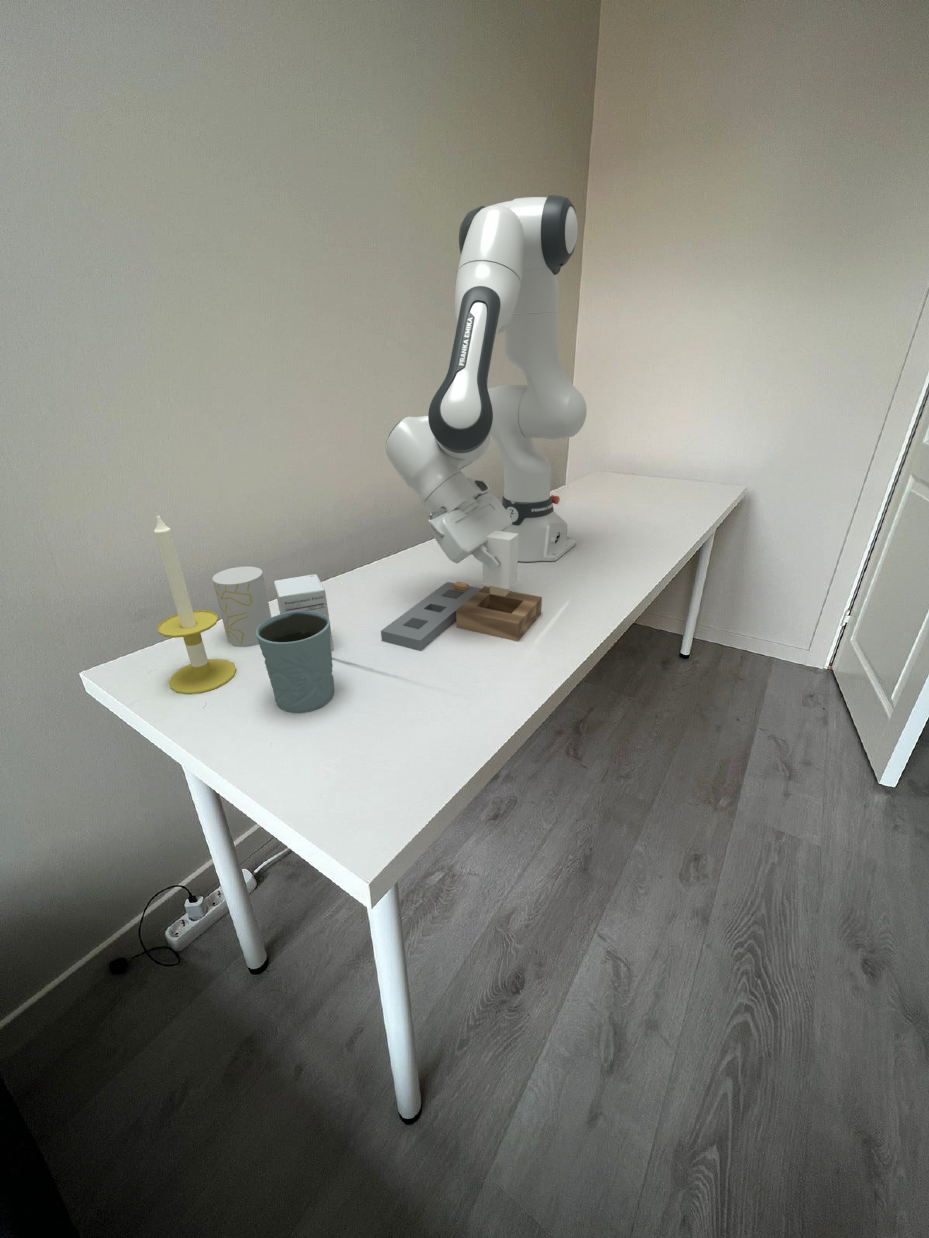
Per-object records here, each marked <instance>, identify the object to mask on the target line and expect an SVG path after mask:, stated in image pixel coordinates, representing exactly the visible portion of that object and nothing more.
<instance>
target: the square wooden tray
mask: <svg viewBox="0 0 929 1238" xmlns="http://www.w3.org/2000/svg"><path fill="white" fill-rule="evenodd" d="M481 588H482V589H481V590H479V591H478V592H477V593H476V594H475V595H473V596H472V597H471V598H470V599H469V600H468V601H466V602H465V603H464V604H463V605H462V606H461V607H459V608H458V609H457V610H456V621H455V623H456V629H461V630H465V631H469V632H475V633H480V634H483V635H487V636H491V637H496V638H500V639H504V640H507V641H513V642H517V643H518V642H519V641H520V639H521V638H522V637H523V636H524V635H525V633H526V632H527V631H528V630H529V629H530V627H531V626H532V625H534V623H535V622H536V620H537V619H538V618H539V617H540V616H541V615H542V604H543V603H542V602H543V596H538V595H533V594H527V593H522V592H518V591H517V592H516V591H512V590H509V593H508V594H507V595H506V596H505V597H504V596H499V595H494V594H490V586H488V585H483V587H481Z"/></svg>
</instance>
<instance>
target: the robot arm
mask: <svg viewBox="0 0 929 1238" xmlns="http://www.w3.org/2000/svg"><path fill="white" fill-rule="evenodd" d="M576 212H577V211H576V208H575V206H574V204H573V203H572V201H571V199H570V198H569V197H566V196H562V195H556V194H550V195H548V196H546V197H545V196H531V197H528V196H527V197H516V198H514V199H512V200H507V201H503V202H498V203H495V204H491V205H489V206H485V205H482V206H481V205H480V206H479V207H476V208H474V209H472V210H471V211H469V212H468V213H466V215H465V216H464V218H463V220H462V222H461V224H460V227H459V231H458V247H459V253H460V259H459V263H458V268H457V274H456V282H455V288H454V289H455V290H454V316H455V320H456V328H455V334H454V339H453V345H452V351H451V354H450V359H449V364H448V365H449V367H448V370H447V373H446V376H445V378H444V379H443V381H442V383H441V385H440V387H439V388H438V389H437V391H436V392H435V394H434V395H433V398H432V400H431V402H430V404H429V408H428V414H427V415H423V416H406V417H403V419H401V420H399V421H398V422H397V424H395V426H394V427H393V428H392V430H391V431H390V432H389V434H388V437H387V439H386V441H385V452H386V455H387V458H388V460H389V462H390V463H391V465H392V466H393V468H394V469H395V471H396V472H397V473H398V475H399V476H400V478H401V479H402V480H403V481H404V482H405V484H406V485H407V486H408V488H410V489H412V490H413V491H414V492H416V494H417V495H418V496H419V498H420V500H421V502H422V503H421V504H423V506H424V507H425V508H426V509H427V511H428V512H429V514H428V515H427V518H428V519H427V520H428V523H427V524H428V527H430V529H431V532H432V536H433V537H434V539H435V541H436V543H437V544H438V545H439V547H440V548H441V550H442V551H443V553H444V555H446V557H447V558H448V559H449V561H451V562H453V563H455V564H459V563H460V562H462V561H463V560H465V559H466V558H468V557H470V556H471V555H472V556H473V557H474V558H475V560H477V561H478V562H481V563H482V564H483V563H484V564H486V565H487V566H488V568H489V569H490V570H491V571H494V570H495V569H496V568H498V567H499V566H500V565H501V562H500V561H499V560H498V558H497V557H496V556H495V557H493V556H492V555H491V554H489V553H488V552H487V551H486V550H487V549H486V547H485V546H484V545H483V544H484V543H485V542H487V540H488V539H487V537H486V536H488V535H489V534H491V533H493V532H494V531H503V532H510V533H517V534H519V540H518V562H524V563H525V562H526V563H527V562H541V561H543V562H555V561H557V560H559V559H560V558H561V557H562V556H564V555H565V554H566V553H567V552H569V551H570V550H571V549H572V548H573V547H574V546H576V545H577V543H576V540H575V539H573V538H572V537H570V536H568V524H567V521H565V520H564V519H563V518H562V517H561V516H560V515H559V514H557V513H556V512H555V511H554V504H555V505H559V503H560V499H561V498H560V496H559V495H553V494H552V495H551V484H552V483H551V482H552V466H551V462H550V461H549V460H548V458H547V457H546V456H544V455H543V454H541V453H540V452H539V451H538V450H537V448H536V446H535V445H534V441H533V438H535V439H548V440H558V439H559V440H560V439H567V438H572V437H575V436H576V435H577V434H578V433H579V432H580V431H581V430H582V428H583V426H584V424H585V422H586V417H587V403H586V399H585V398H584V396H583V394H582V393H581V392H580V391H579V390H578V389H577V388H576V387H575V386H574V385H573V384H572V382H571V381H570V380H569V378H568V376H567V374H566V373H565V370H564V367H563V364H562V361H561V357H560V351H559V306H560V305H559V304H560V303H559V281H558V274H559V273H560V271H561V269H562V267H564V266H565V265H566V264H567V263H568V262H569V260H570V258H571V257H572V256H573V253H574V252H575V248H576V243H577V239H578V230H579V229H578V228H579V227H578V226H579V224H578V219H577V213H576ZM503 332H504V336H505V337H504V342H505V343H504V345H505V346H504V349H505V354H506V356H507V359H508V360H509V361H510V362H511V363H512V364H514V366H516V367H518V368H519V369H520V370H521V371H522V373H523V374H524V376H525V379H526V383H527V384H502V385H497V386H494V387H489V388H488V381H489V374H490V368H491V362H492V357H493V351H494V345H495V341H496V338H497V335H500V334H501V333H503ZM491 438H492V439H493V440H494V442H495V443H496V446H497V448H498V450H499V453H500V457H501V460H502V466H503V480H504V481H503V483H504V485H503V492H504V493H503V496H502V497H501V498H502V499H501V500H502V501H501V502H500V500H499V498H498V497H496V495H495V494H493V493H492V492H489V491H490V490H491V487H490V485H489V484H488V483H487V482H486V481H485V480H481V479H475V478H471V477H467V476H466V475H465V473H464V472H462V469H464V468H465V467H467V466H470V465H472V464H473V463H474V462H476V461H478V460H479V459H480V458H481V457H482V456H484V454H485V453H486V452H487V450H488V448H489V446H490V441H491Z"/></svg>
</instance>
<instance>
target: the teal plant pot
mask: <svg viewBox="0 0 929 1238" xmlns="http://www.w3.org/2000/svg"><path fill="white" fill-rule="evenodd" d="M330 627H331V620H330V617H329V618H328V617H327V616H325V615H324V614H322V613H318V612H314V611H294V612H288V613H283V614H280V613H279V614H277V615H274V616H271V618H270V619H268V620H266V621H264V622H263V623H261V624H260V625H259V626H258V628H257V630H256V636H257V639H258V642H259V644H258V645H259V647H260V648H259V649H260V650H261V655H262V657H263V658H264V664H265V669H266V671H267V675H268V678H269V681H270V685H271V688H272V692H273V696H274V699H275V702H276V705H277V706H278V707H279V708H280V709H282V710H283V711H284V712H288V713H293V714H303V713H309V712H314V711H315V710H319V709H320V708H322V707H324V706H326V705H327V704H328V703H329V702H330V701H331V700H332V698H333V697H334V695H335V682H334V681H335V680H334V675H333V667H334V666H333V654H332V651H331V643H330V637H331V635H332V632H331V633H330Z"/></svg>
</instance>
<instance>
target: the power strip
mask: <svg viewBox="0 0 929 1238" xmlns="http://www.w3.org/2000/svg"><path fill="white" fill-rule="evenodd" d="M482 588H483V587H476V586H471V585H470V584H469V583H465V582H461V581H456V582H449V581H446V582H445V583H443V584H442V585H440V586H439V587H437V589H435V590H434V591H433V592H431V593H430V594H429V595H427V596H426V597H424V598H423V599H422V600H420V601H419V602H418V603H416V604H415V605H413V606H412V607H411V608H409V609H408V610H406V612H404V613H403V614H402V615H400V616H399V617H397V618H396V619H395V620H393V621H392V622H391V623H389V624H388V625H386V626H385V627H384V628H383V629H381V630H380V635H381V636H380V638H381V642H384V643H387V644H392V645H396V646H400V647H403V648H408V649H412V650H415V651H419V652H421V651H423V650H424V649H425V648H426V647H427V646H429V645H430V644H431V643H432V642H433V641H434V640H435V639H437V637H438V636H440V635H441V634H442V633H443V632H445V630H446V629H448V628H449V627H450V626H451V625H452V624H453V623H456V610H457V609H458V608H459V607H461V606H462V605H463V604H464V603H465V602H466V601H468V600H469V599H470V598H471V597H472V596H473V595H475V594H476V593H477V592H478V591H479V590H481V589H482Z"/></svg>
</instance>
